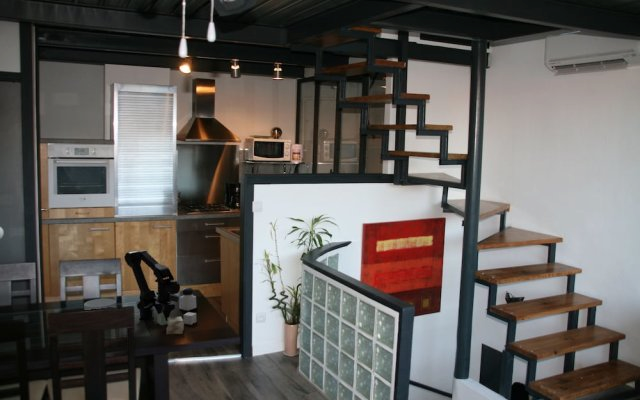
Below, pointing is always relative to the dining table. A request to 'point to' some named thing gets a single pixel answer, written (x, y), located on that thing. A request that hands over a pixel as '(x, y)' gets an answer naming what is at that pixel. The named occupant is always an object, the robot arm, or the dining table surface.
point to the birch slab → (175, 322)
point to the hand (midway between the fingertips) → (163, 318)
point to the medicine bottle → (187, 299)
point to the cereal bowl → (99, 304)
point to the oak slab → (175, 330)
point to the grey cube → (189, 318)
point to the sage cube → (162, 319)
